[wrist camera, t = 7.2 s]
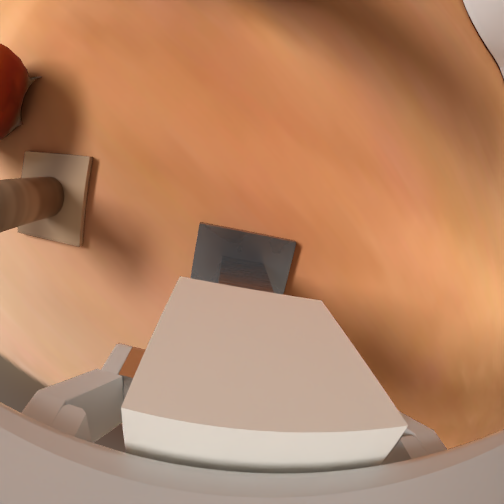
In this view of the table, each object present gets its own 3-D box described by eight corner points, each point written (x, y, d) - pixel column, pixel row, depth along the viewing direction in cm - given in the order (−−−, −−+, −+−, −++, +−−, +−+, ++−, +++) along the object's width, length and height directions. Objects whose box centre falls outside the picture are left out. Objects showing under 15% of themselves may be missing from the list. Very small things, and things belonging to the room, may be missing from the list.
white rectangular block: (321, 300, 11) (408, 425, 4) (286, 404, 12) (318, 531, 6) (179, 276, 10) (121, 407, 4) (167, 388, 11) (138, 521, 5)
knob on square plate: (93, 157, 17) (30, 151, 10) (82, 245, 18) (23, 276, 11) (28, 151, 16) (-37, 149, 9) (21, 230, 18) (-41, 253, 11)
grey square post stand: (294, 240, 19) (327, 275, 12) (273, 324, 20) (290, 388, 14) (200, 222, 18) (182, 248, 12) (186, 309, 20) (167, 370, 13)
